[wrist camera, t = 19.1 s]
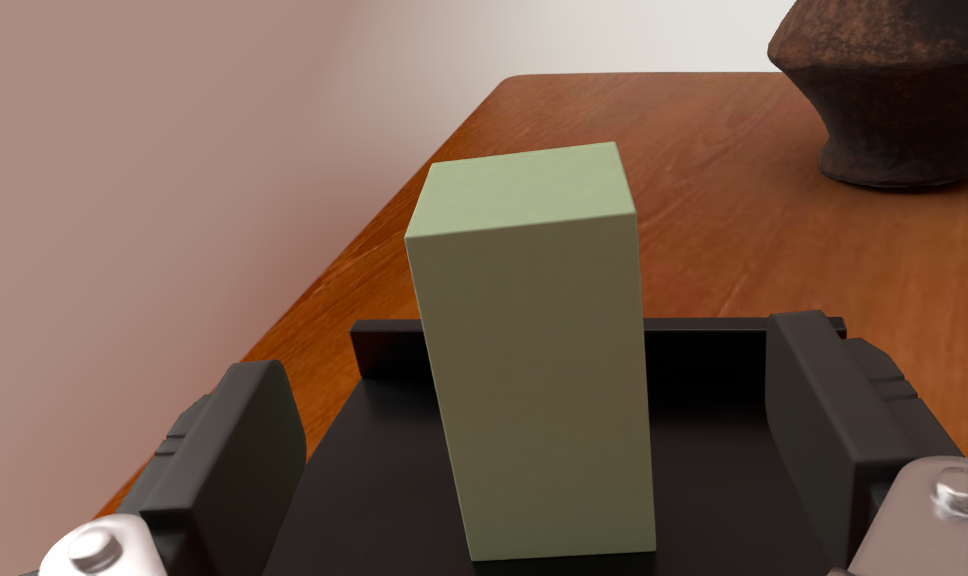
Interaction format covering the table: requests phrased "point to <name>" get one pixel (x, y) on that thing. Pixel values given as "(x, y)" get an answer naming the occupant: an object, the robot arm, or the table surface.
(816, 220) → the table surface
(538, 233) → the block
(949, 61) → the jug
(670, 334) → the bench
